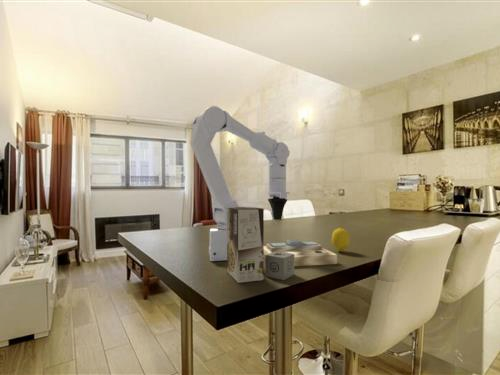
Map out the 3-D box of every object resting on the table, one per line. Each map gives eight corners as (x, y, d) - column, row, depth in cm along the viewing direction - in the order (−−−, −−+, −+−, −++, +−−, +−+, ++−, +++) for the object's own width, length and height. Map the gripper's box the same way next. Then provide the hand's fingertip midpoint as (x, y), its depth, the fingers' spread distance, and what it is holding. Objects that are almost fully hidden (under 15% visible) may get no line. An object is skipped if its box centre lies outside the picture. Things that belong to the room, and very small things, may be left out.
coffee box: (264, 280, 60) (264, 208, 60) (237, 283, 58) (237, 208, 58) (250, 269, 69) (250, 206, 69) (226, 271, 66) (226, 206, 67)
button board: (273, 267, 70) (273, 253, 70) (260, 254, 85) (260, 242, 85) (337, 263, 73) (336, 250, 74) (314, 251, 88) (314, 240, 88)
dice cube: (276, 271, 67) (276, 251, 67) (294, 274, 64) (294, 253, 64) (265, 276, 63) (265, 254, 63) (284, 280, 60) (284, 258, 60)
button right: (306, 249, 80) (306, 244, 80) (301, 247, 84) (301, 242, 84) (317, 249, 81) (317, 244, 81) (312, 246, 84) (312, 241, 84)
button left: (273, 250, 78) (273, 245, 78) (270, 248, 82) (270, 243, 82) (285, 250, 79) (285, 245, 79) (281, 247, 82) (281, 242, 82)
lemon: (352, 253, 85) (351, 228, 86) (334, 253, 86) (334, 228, 86) (346, 249, 91) (346, 226, 91) (329, 249, 91) (329, 226, 91)
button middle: (290, 247, 79) (290, 242, 79) (286, 244, 83) (286, 239, 83) (301, 246, 80) (301, 241, 80) (297, 244, 83) (297, 239, 83)
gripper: (296, 178, 83) (296, 221, 83) (282, 179, 98) (282, 217, 98) (274, 177, 82) (274, 222, 82) (263, 179, 96) (263, 217, 96)
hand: (277, 219), depth 90 cm, fingers closed
